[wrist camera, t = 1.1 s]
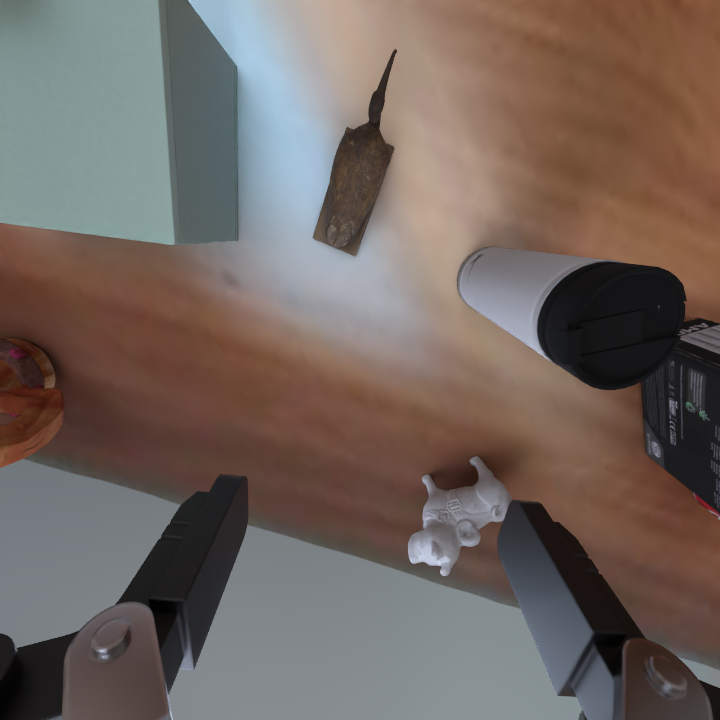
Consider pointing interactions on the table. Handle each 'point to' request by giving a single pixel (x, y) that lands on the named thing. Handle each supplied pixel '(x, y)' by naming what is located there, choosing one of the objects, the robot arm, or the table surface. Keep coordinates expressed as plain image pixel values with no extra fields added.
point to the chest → (203, 128)
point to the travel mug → (580, 310)
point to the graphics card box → (687, 411)
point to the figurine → (355, 178)
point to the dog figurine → (457, 518)
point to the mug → (27, 400)
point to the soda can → (706, 506)
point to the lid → (87, 118)
